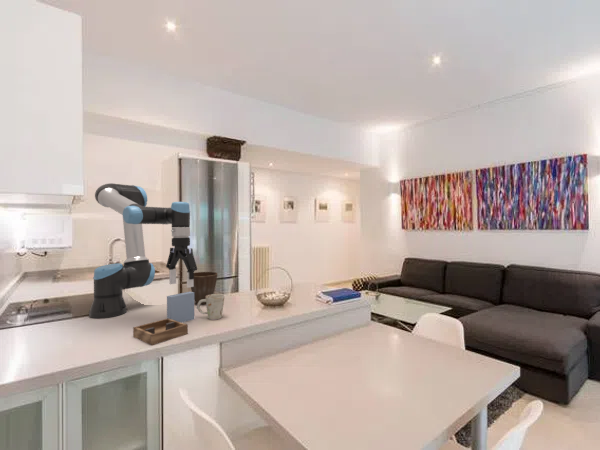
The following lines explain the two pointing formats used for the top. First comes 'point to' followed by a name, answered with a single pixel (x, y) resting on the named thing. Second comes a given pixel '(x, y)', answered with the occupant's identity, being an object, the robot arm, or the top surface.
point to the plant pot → (203, 285)
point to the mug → (213, 306)
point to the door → (181, 307)
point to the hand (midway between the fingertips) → (181, 285)
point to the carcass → (160, 331)
